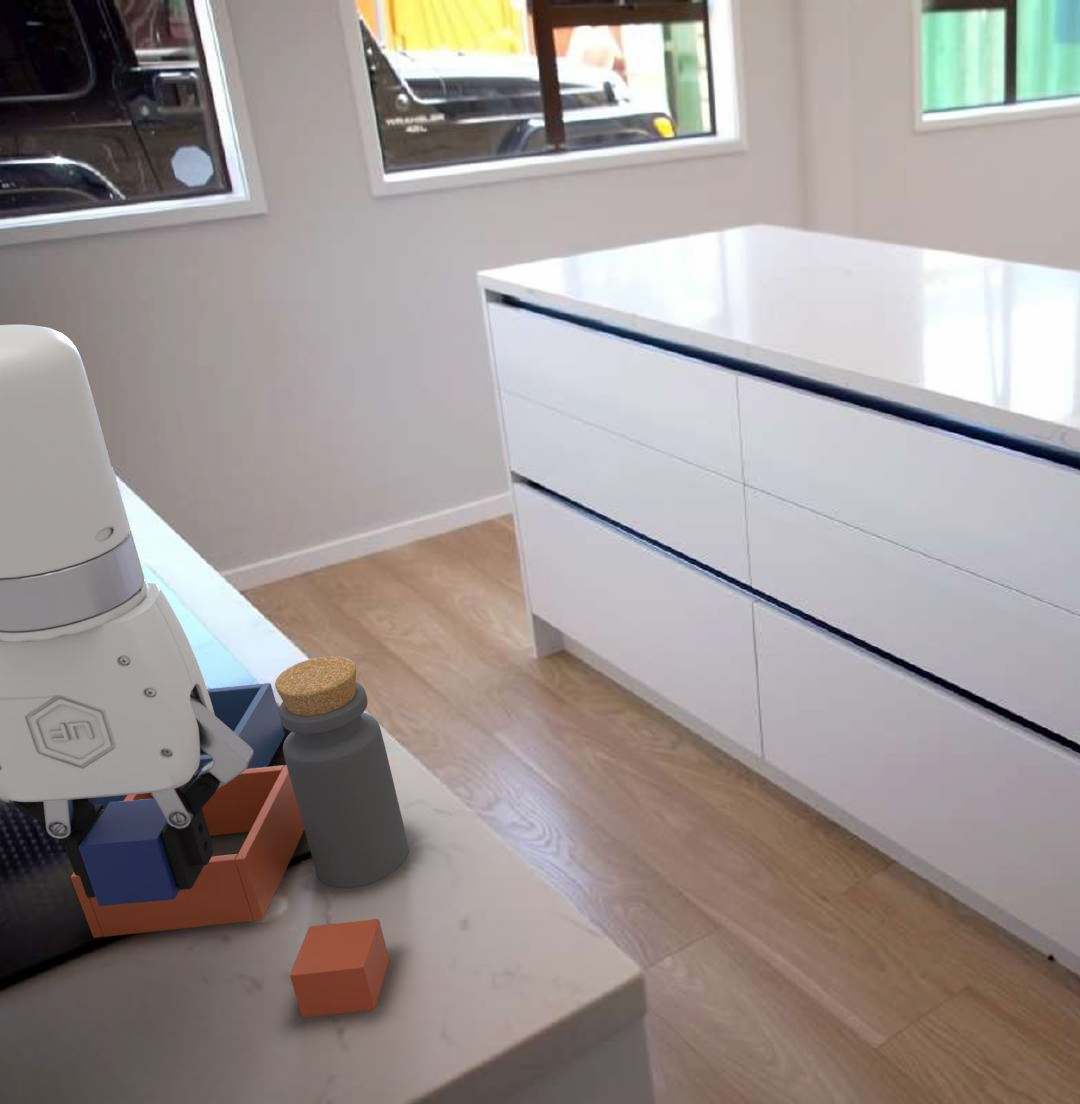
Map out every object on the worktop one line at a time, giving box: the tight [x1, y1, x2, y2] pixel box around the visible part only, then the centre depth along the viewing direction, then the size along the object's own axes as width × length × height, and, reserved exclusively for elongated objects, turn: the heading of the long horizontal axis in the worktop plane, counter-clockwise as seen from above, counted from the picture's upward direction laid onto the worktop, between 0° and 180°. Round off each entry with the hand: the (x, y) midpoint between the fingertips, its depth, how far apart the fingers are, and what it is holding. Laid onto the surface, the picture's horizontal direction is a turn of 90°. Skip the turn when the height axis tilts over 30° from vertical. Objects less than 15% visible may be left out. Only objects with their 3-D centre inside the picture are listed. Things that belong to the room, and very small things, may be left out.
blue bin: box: [92, 682, 286, 809], centre depth 92 cm, size 10×10×6 cm
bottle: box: [274, 655, 410, 889], centre depth 80 cm, size 6×6×15 cm
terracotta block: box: [289, 918, 390, 1018], centre depth 72 cm, size 4×4×4 cm
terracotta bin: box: [70, 764, 305, 939], centre depth 81 cm, size 10×10×6 cm
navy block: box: [79, 799, 180, 906], centre depth 69 cm, size 4×4×4 cm
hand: (149, 874), depth 70 cm, fingers closed on navy block, 4 cm apart
